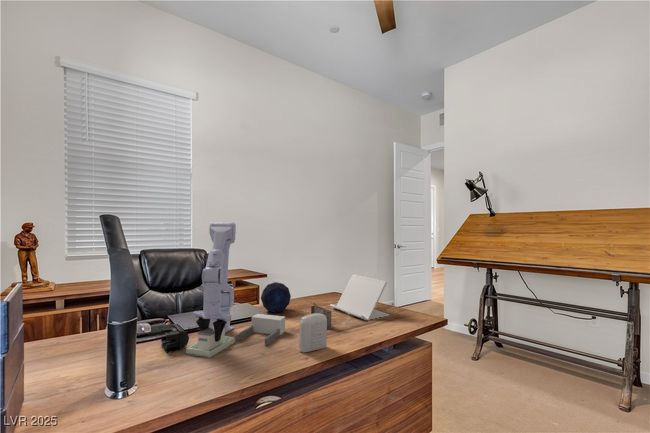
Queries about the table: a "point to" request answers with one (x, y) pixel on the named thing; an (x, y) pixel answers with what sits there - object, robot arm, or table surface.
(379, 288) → the tablet stand
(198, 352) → the tray
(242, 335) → the printer bay
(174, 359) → the table surface
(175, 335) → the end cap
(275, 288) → the decorative orb
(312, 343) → the photo printer
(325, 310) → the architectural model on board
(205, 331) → the grey rectangular block
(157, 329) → the smart home device
